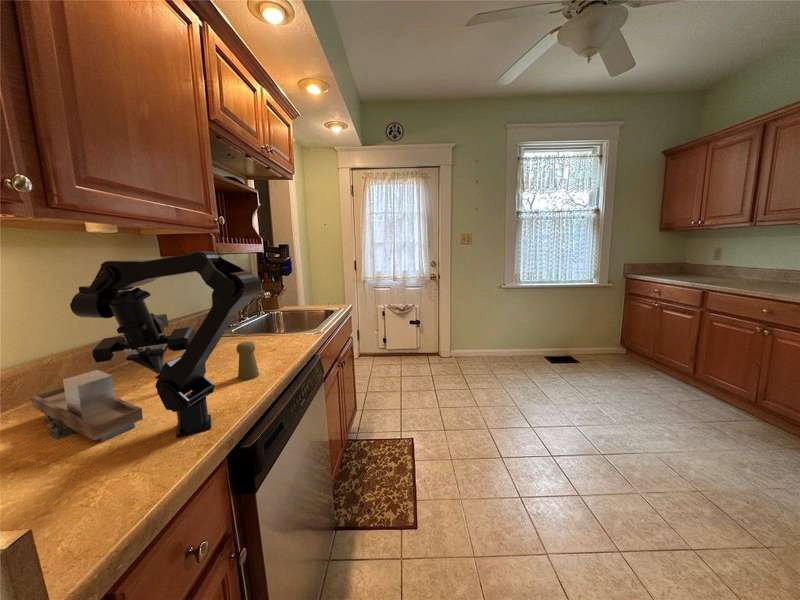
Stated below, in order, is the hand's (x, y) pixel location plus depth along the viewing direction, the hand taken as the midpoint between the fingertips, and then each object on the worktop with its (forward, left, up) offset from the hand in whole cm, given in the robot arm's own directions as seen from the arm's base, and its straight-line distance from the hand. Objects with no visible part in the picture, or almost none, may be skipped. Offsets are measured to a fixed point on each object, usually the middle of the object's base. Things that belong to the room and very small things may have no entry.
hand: (160, 372), depth 77 cm
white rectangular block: (+2, +13, -7) cm, 15 cm away
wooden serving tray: (+4, +15, -8) cm, 17 cm away
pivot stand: (+4, +15, -10) cm, 19 cm away
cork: (+13, -20, -11) cm, 26 cm away
